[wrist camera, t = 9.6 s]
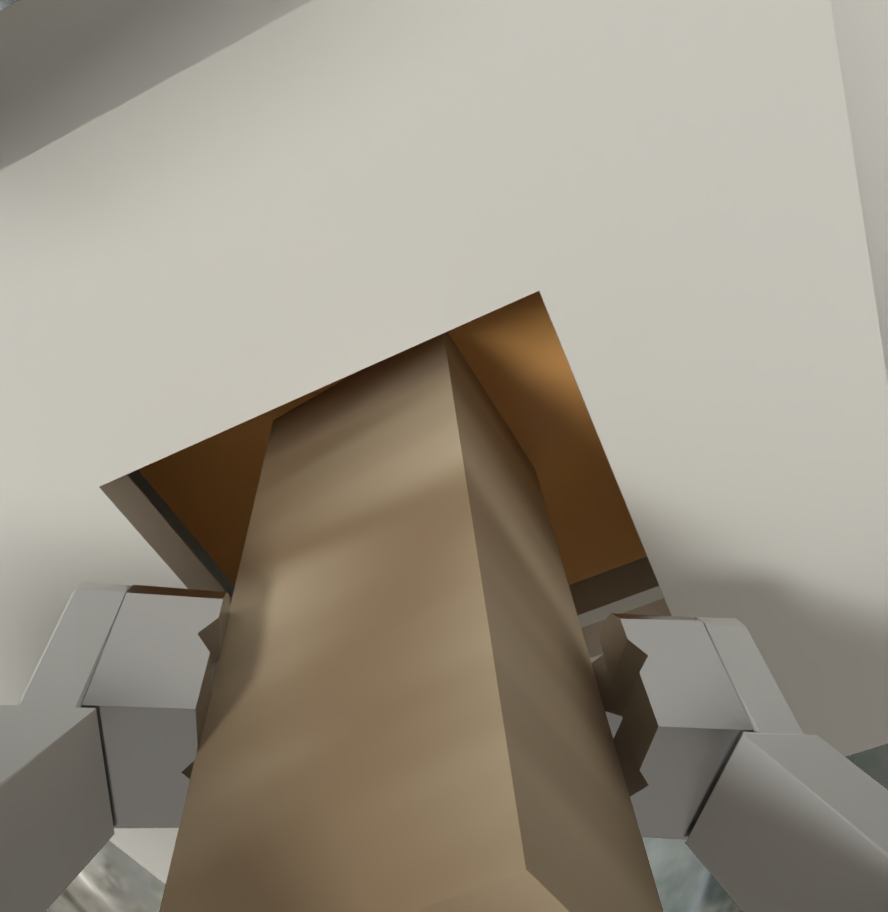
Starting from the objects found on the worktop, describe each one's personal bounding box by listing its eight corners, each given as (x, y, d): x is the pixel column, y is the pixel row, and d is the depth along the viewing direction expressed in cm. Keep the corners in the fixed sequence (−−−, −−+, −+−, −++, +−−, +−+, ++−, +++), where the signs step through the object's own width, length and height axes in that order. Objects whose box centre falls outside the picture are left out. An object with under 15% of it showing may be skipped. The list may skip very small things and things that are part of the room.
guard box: (281, 662, 21) (240, 943, 15) (-140, 164, 14) (-542, 330, 8) (805, 463, 18) (1003, 707, 12) (633, -278, 11) (912, -528, 5)
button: (322, 582, 18) (312, 680, 15) (91, 270, 13) (29, 338, 11) (665, 446, 16) (713, 531, 14) (526, 50, 12) (560, 76, 10)
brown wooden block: (380, 547, 14) (377, 1135, 7) (272, 420, 12) (134, 1017, 5) (535, 468, 13) (700, 1040, 6) (441, 322, 11) (526, 869, 5)
